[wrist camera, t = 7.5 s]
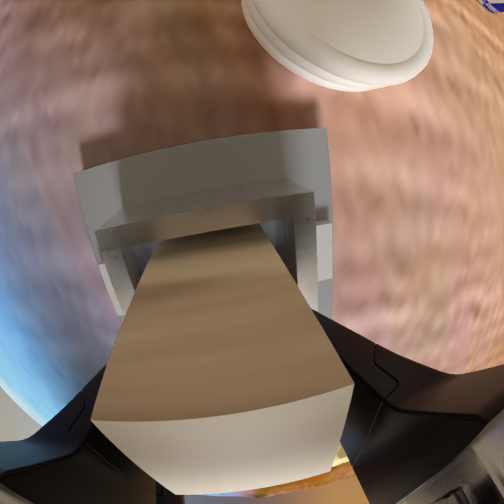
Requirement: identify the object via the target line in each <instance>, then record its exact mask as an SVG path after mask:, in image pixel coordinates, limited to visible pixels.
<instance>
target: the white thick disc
mask: <svg viewBox="0 0 504 504" xmlns="http://www.w3.org/2000/svg"><path fill="white" fill-rule="evenodd" d="M241 6H242V11H243V15H244V18H245V20H246V23H247V25H248V27H249V29H250V31H251V32H252V34H253V36H254V37H255V38H256V40H257V41H258V42H259V44H260V45H261V46H262V47H263V48H264V49H265V50H266V52H267V53H268V54H269V55H270V56H272V57H273V58H274V59H275V60H276V61H277V62H278V63H280V64H281V65H283V66H284V67H285V68H287V69H288V70H290V71H291V72H293V73H295V74H296V75H298V76H300V77H302V78H304V79H306V80H308V81H310V82H312V83H315V84H318V85H321V86H324V87H327V88H331V89H335V90H340V91H349V92H361V91H368V90H372V89H376V88H382V87H386V86H392V85H397V84H401V83H404V82H406V81H408V80H410V79H412V78H413V77H415V76H416V75H417V74H419V73H420V72H421V71H422V70H423V69H424V68H425V66H426V65H427V63H428V62H429V59H430V57H431V54H432V50H433V41H434V38H433V28H432V23H431V19H430V16H429V13H428V10H427V8H426V6H425V3H424V1H423V0H241Z"/></svg>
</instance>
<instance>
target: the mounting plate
mask: <svg viewBox="0 0 504 504" xmlns="http://www.w3.org/2000/svg"><path fill="white" fill-rule="evenodd" d="M73 175H74V180H75V184H76V189H77V193H78V197H79V202H80V206H81V210H82V213H83V217H84V221H85V224H86V228H87V231H88V235H89V238H90V241H91V244H92V248H93V251H94V254H95V257H96V260H97V263H98V267H99V270H100V273H101V275H102V278H103V281H104V283H105V286H106V289H107V291H108V294H109V296H110V299H111V301H112V304H113V306H114V308H115V311H116V313H117V315H118V316H119V319H120V321H121V323H122V322H123V320H124V317H125V316H124V313H123V311H122V308H121V306H120V304H119V301H118V299H117V296H116V294H115V291H114V288H113V286H112V283H111V280H110V278H109V275H108V272H107V269H106V266H105V263H104V260H103V257H102V254H101V251H100V248H99V245H98V242H97V238H96V235H95V231H96V230H97V229H98V228H99V227H100V226H101V225H103V224H104V223H105V222H106V221H107V220H108V219H109V218H111V217H112V216H113V215H114V214H115V213H117V212H118V211H119V210H120V209H121V208H123V207H127V206H131V205H135V204H140V203H144V202H149V201H153V200H158V199H163V198H167V197H172V196H177V195H182V194H187V193H193V192H198V191H204V190H209V189H215V188H221V187H227V186H233V185H239V184H246V183H253V182H259V181H267V180H274V179H282V178H287V179H289V180H292V181H294V182H296V183H298V184H300V185H302V186H304V187H306V188H308V189H310V190H312V191H314V200H315V217H316V238H317V274H318V312H319V313H321V314H322V315H324V316H326V317H328V318H330V319H332V295H333V219H332V194H331V177H330V162H329V150H328V139H327V129H326V128H311V129H294V130H281V131H270V132H260V133H251V134H243V135H236V136H229V137H222V138H215V139H209V140H203V141H198V142H192V143H187V144H182V145H177V146H172V147H168V148H163V149H159V150H154V151H150V152H146V153H142V154H138V155H134V156H130V157H126V158H123V159H119V160H116V161H112V162H109V163H105V164H102V165H99V166H96V167H92V168H89V169H86V170H83V171H80V172H77V173H74V174H73ZM259 224H260V225H261V227H262V229H263V230H264V232H265V233H266V235H267V237H268V238H269V240H270V241H271V243H272V245H273V246H274V248H275V250H276V251H277V249H276V239H275V229H274V221H269V222H263V223H259ZM157 242H158V241H157ZM157 242H152V243H148V245H149V248H150V252H151V254H152V252H153V250H154V248H155V246H156V244H157Z"/></svg>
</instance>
